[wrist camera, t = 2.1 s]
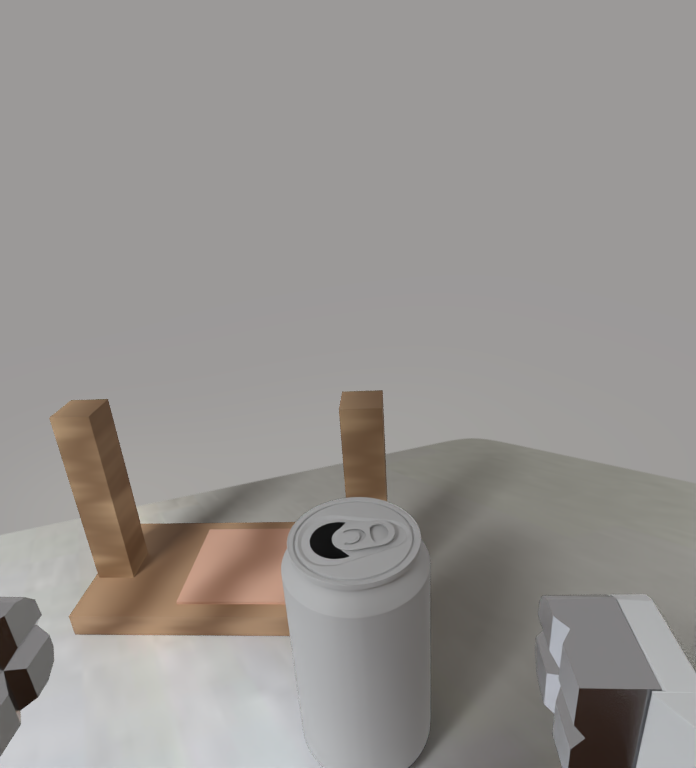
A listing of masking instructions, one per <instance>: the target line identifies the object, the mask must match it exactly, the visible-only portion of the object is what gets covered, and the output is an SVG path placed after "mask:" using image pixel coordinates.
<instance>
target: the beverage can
mask: <svg viewBox="0 0 696 768" xmlns="http://www.w3.org/2000/svg"><path fill="white" fill-rule="evenodd" d="M281 575H282V582H283V589H284V597H285V604H286V611H287V618H288V625H289V633H290V640H291V647H292V654H293V662H294V669H295V676H296V683H297V690H298V698H299V705H300V712H301V719H302V726H303V733H304V737H305V740H306V743H307V746H308V748H309V750H310V751H311V753H312V755H313V756H314V757H315V759H316V760H317V761H318V762H319V764H320V765H321V766H323V767H324V768H408V767H409V766H411V765H412V764H413V762H414V761H415V760H416V759H417V758H418V756H419V755H420V753H421V752H422V750H423V748H424V746H425V744H426V742H427V739H428V735H429V731H430V722H431V627H430V556H429V552H428V549H427V547H426V545H425V543H424V542H423V540H422V539H421V533H420V529H419V526H418V524H417V522H416V521H415V520H414V518H413V517H412V516H411V515H410V514H409V513H408V512H406V511H405V510H404V509H402V508H400V507H399V506H397V505H395V504H392V503H390V502H387V501H384V500H380V499H375V498H367V497H349V498H341V499H336V500H332V501H329V502H326V503H323V504H320V505H318V506H316V507H314V508H312V509H310V510H309V511H307V512H306V513H305V514H303V515H302V516H301V517H300V518H299V519H298V520H297V521H296V522H295V524H294V525H293V526H292V528H291V530H290V532H289V534H288V538H287V549H286V551H285V553H284V556H283V559H282V564H281Z"/></svg>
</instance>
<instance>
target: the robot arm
mask: <svg viewBox="0 0 696 768" xmlns="http://www.w3.org/2000/svg"><path fill="white" fill-rule="evenodd" d="M41 615H42V614H41V612H40V610H39V608H38V605H37V603H36V601H35V600H34V599H30V598H26V597H0V756H1V755H2V753H3V751H4V750H5V748H6V747H7V745H8V744H9V742H10V741H11V739H12V737H13V736H14V734H15V733H16V731H17V730H18V728H19V727H20V725H21V714H20V710H22V709H23V708H24V707H26V706H27V705H28V704H30V703H31V702H32V701H34V700H35V699H36V698H38V697H39V695H40V693H41V692H42V690H43V688H44V687H45V685H46V683H47V682H48V680H49V676H50V673H51V669H52V666H53V662H54V648H53V644H52V641H51V638H50V635H49V634H47V633H46V632H45V631H44V630H42V629H41V628H40V627H39V626H38V625H37V623H38V621H39V619H40V617H41ZM538 616H539V620H540V623H541V626H542V629H543V630H542V631H541V632H540V633H539V634H538V635H537V636H536V646H535V659H536V672H537V677H538V682H539V687H540V691H541V695H542V699H543V702H544V705H545V706H546V707H547V708H548V709H549V710H551V711H552V712H553V713H554V722H553V732H552V734H553V738H554V741H555V745H556V748H557V752H558V755H559V758H560V762H561V765H562V768H696V671H695V670H694V668H693V666H692V665H691V663H690V661H689V660H688V658H687V656H686V655H685V653H684V651H683V650H682V648H681V646H680V645H679V643H678V641H677V640H676V638H675V636H674V635H673V633H672V631H671V630H670V628H669V626H668V625H667V623H666V621H665V619H664V618H663V616H662V614H661V613H660V611H659V609H658V608H657V606H656V604H655V603H654V601H653V599H652V598H650V597H649V596H648V595H646V594H611V595H542V597H541V599H540V602H539V610H538Z"/></svg>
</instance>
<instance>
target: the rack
mask: <svg viewBox="0 0 696 768" xmlns="http://www.w3.org/2000/svg"><path fill="white" fill-rule="evenodd" d="M339 416H340V429H341V440H342V454H343V467H344V479H345V492H346V498H349V497H367V498H375V499H380V500H384V501H387V482H386V459H385V437H384V414H383V391H382V390H381V391H350V392H342V396H341V401H340V407H339ZM50 422H51V425H52V428H53V431H54V434H55V437H56V441H57V444H58V447H59V450H60V454H61V456H62V460H63V463H64V466H65V470H66V473H67V476H68V479H69V482H70V485H71V489H72V492H73V495H74V498H75V502H76V505H77V508H78V511H79V514H80V518H81V521H82V524H83V527H84V530H85V534H86V537H87V540H88V543H89V546H90V550H91V553H92V556H93V559H94V562H95V566H96V569H97V572H98V574H97V575H96V577H95V578H94V580H93V581H92V583H91V584H90V586H89V587H88V589H87V590H86V592H85V593H84V595H83V596H82V598H81V599H80V601H79V602H78V604H77V605H76V607H75V608H74V610H73V611H72V612H71V614H70V615H69V618H70V621H71V624H72V627H73V629H74V632H75V634H101V635H244V636H290V633H289V625H288V618H287V611H286V604H285V597H284V589H283V582H282V575H281V564H282V559H283V556H284V553H285V551H286V549H287V538H288V534H289V532H290V530H291V528H292V526H293V525H294V524H295V522H263V523H173V524H140V520H139V516H138V512H137V509H136V505H135V501H134V497H133V493H132V489H131V486H130V482H129V478H128V474H127V470H126V467H125V463H124V459H123V455H122V452H121V448H120V444H119V440H118V436H117V432H116V429H115V424H114V421H113V417H112V413H111V409H110V405H109V402H108V399H96V400H71V401H70V402H68V403H67V404H66V405H65V406H63V407H62V408H61V409H60V410H59V411H57V412H56V413H55V414H54V415H52V416H51V417H50Z"/></svg>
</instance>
